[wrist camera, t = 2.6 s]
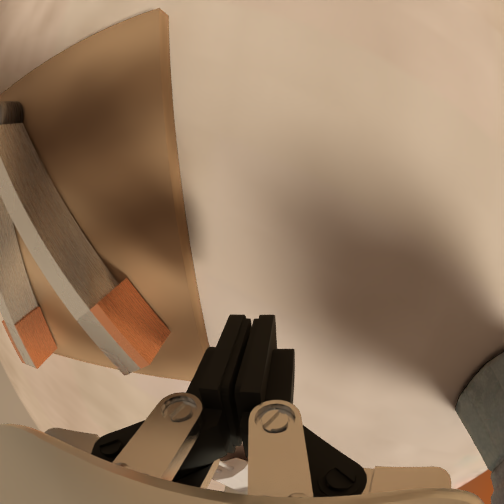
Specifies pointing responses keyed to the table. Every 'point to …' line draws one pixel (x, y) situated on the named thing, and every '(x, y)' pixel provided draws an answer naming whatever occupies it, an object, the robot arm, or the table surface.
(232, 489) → the charger
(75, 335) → the board
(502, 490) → the moka pot
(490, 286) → the table surface
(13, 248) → the bar
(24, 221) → the tong leg
